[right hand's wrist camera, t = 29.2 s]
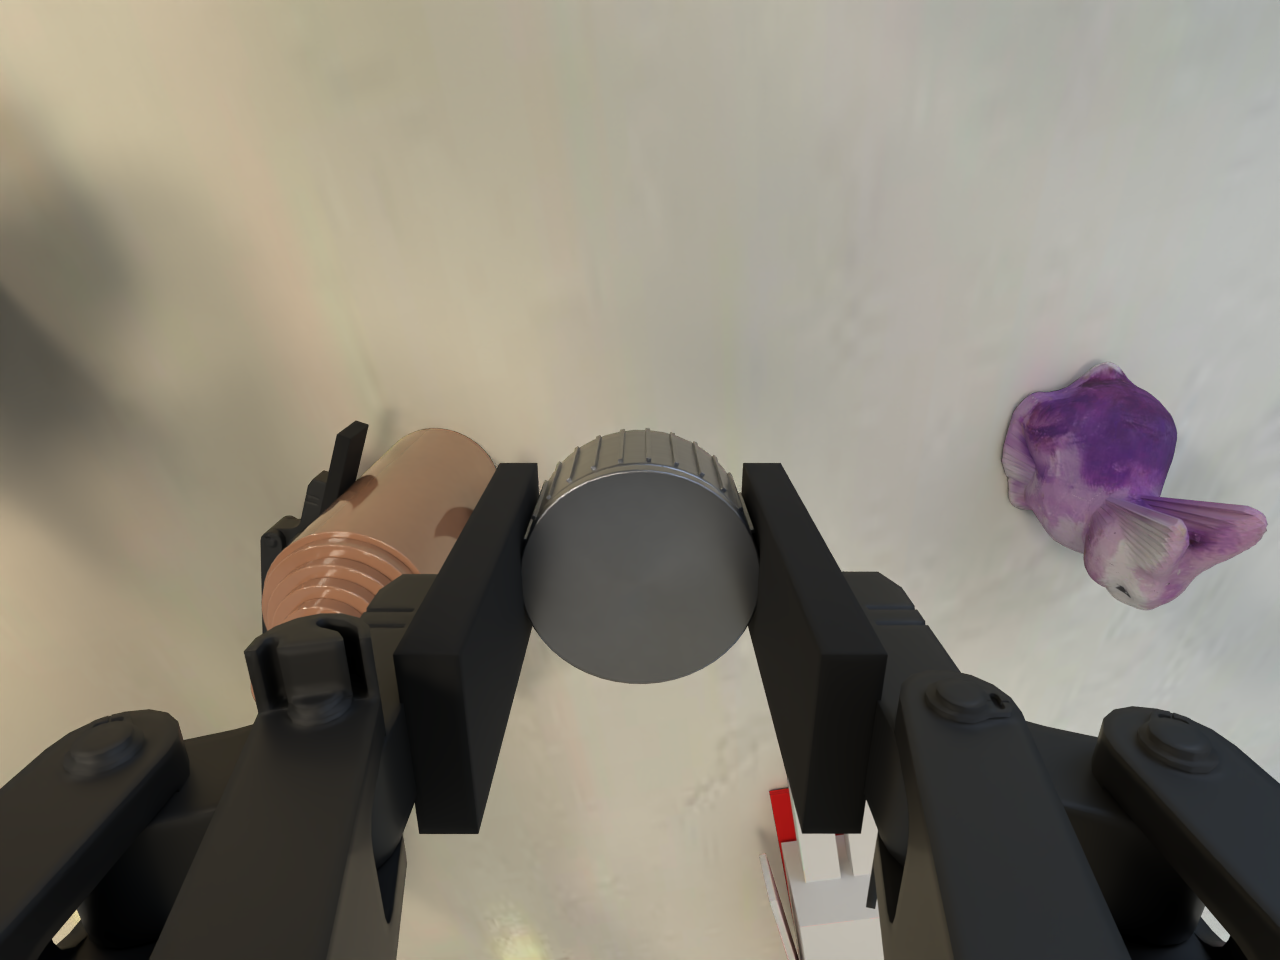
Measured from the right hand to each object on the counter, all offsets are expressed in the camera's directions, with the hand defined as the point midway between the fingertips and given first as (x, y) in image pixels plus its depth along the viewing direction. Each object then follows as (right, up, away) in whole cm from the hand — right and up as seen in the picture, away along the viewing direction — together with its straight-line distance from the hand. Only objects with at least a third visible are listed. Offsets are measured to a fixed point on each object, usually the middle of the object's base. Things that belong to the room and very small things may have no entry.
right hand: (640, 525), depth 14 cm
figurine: (+28, +3, +32) cm, 43 cm away
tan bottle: (-14, +1, +33) cm, 36 cm away
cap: (0, -1, -2) cm, 2 cm away
